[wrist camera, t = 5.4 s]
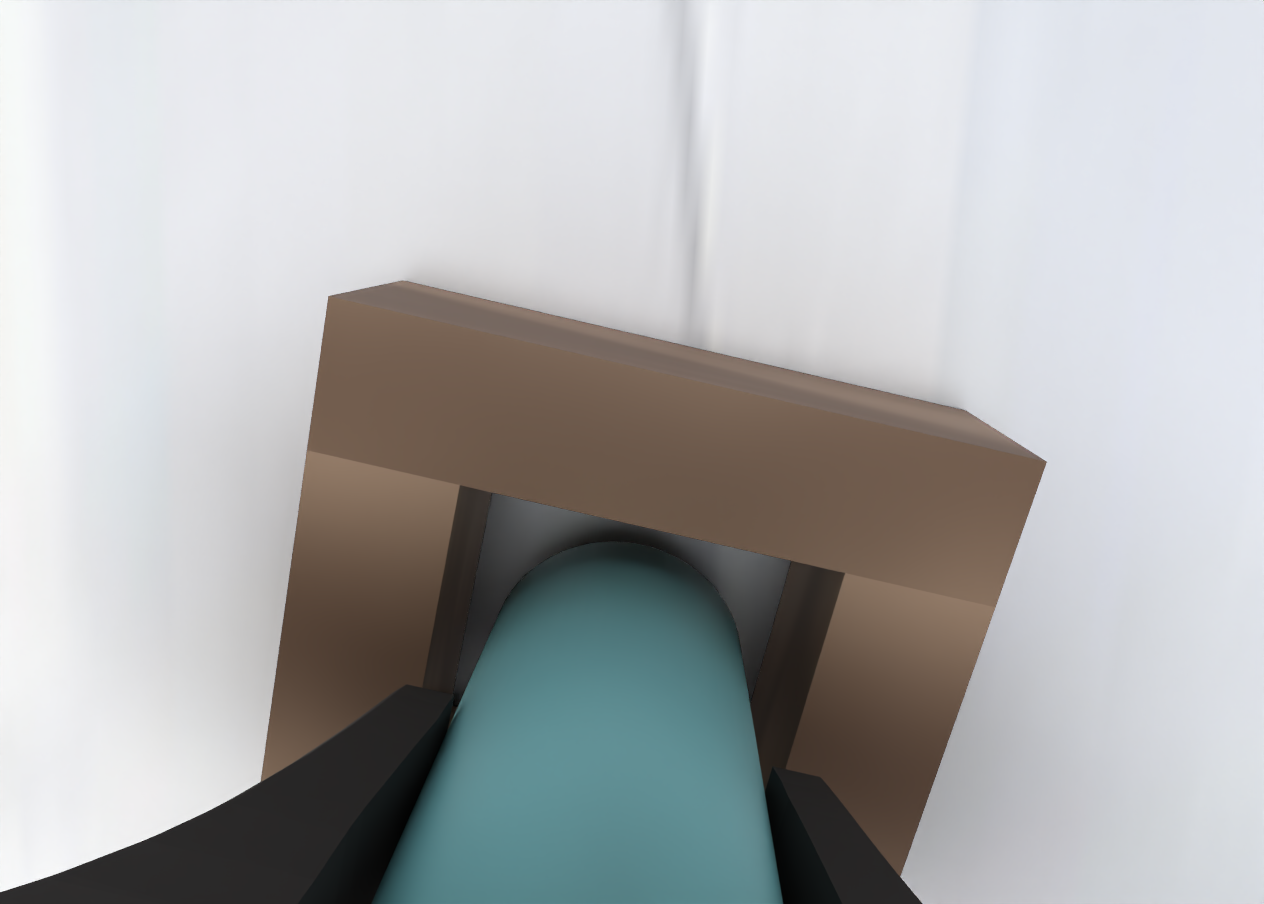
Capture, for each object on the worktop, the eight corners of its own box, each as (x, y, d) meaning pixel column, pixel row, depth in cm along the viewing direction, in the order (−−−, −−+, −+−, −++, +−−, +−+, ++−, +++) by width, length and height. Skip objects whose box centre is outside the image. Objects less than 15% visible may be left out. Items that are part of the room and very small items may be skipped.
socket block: (811, 886, 18) (843, 1037, 15) (323, 777, 18) (243, 904, 15) (966, 411, 16) (1046, 461, 12) (403, 280, 16) (328, 296, 12)
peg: (700, 797, 15) (753, 1832, 5) (466, 734, 15) (91, 1674, 5) (773, 580, 14) (1003, 1370, 4) (524, 511, 14) (191, 1166, 4)
